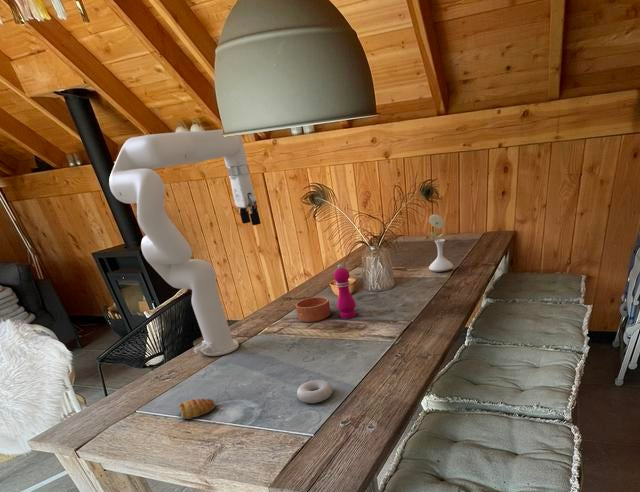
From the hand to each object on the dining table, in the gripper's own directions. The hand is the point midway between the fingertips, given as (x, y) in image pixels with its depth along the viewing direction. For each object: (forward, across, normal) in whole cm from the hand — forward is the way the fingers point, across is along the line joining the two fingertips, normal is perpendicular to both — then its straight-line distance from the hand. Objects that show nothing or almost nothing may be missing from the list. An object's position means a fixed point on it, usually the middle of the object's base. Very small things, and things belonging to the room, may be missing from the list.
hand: (251, 223), depth 173 cm
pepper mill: (+36, +26, +20) cm, 49 cm away
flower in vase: (+36, +8, +85) cm, 93 cm away
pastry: (+36, +57, -51) cm, 85 cm away
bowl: (+36, +14, +11) cm, 41 cm away
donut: (+36, +75, -22) cm, 87 cm away
